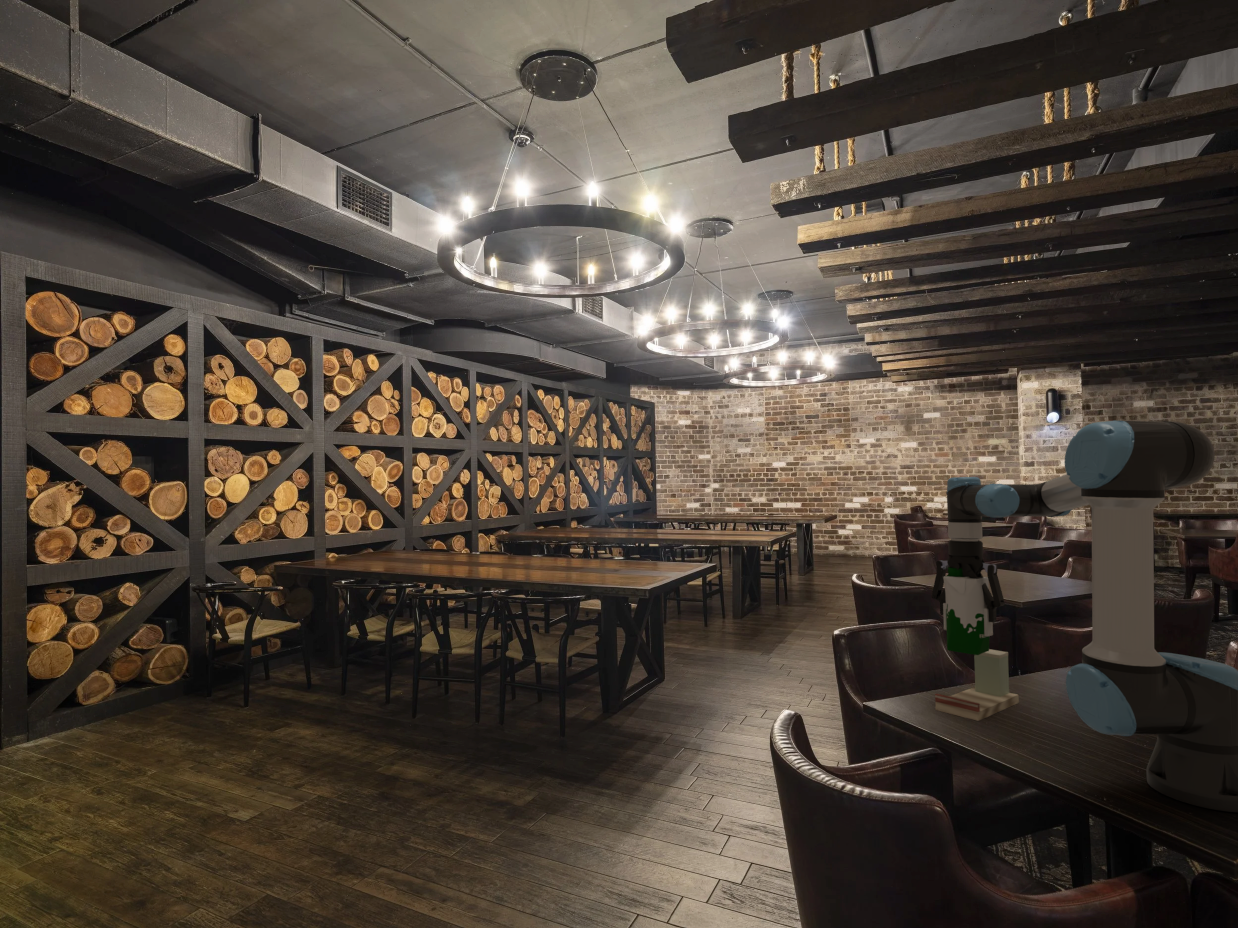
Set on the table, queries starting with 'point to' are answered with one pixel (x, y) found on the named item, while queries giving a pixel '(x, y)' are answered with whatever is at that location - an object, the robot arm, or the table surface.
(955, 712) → the shelf board
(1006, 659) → the tea tin
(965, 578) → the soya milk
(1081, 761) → the table surface
